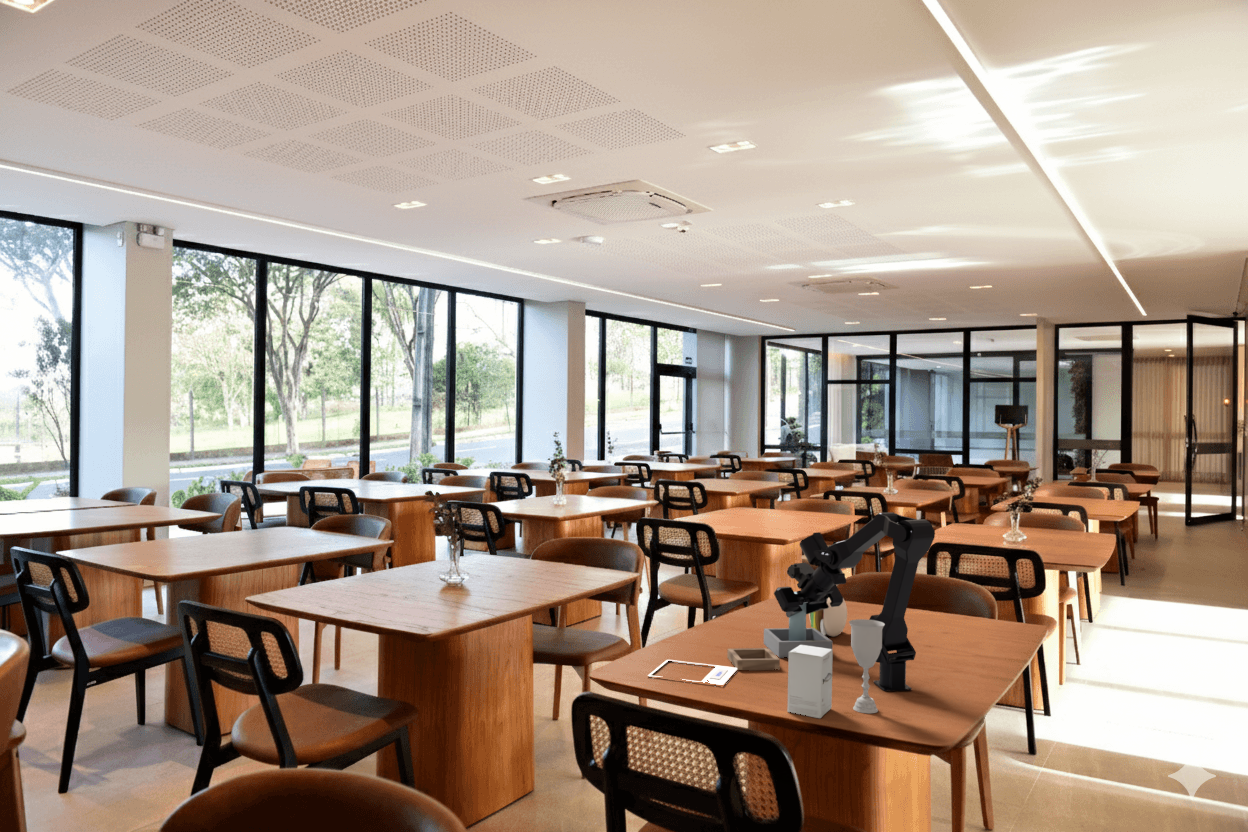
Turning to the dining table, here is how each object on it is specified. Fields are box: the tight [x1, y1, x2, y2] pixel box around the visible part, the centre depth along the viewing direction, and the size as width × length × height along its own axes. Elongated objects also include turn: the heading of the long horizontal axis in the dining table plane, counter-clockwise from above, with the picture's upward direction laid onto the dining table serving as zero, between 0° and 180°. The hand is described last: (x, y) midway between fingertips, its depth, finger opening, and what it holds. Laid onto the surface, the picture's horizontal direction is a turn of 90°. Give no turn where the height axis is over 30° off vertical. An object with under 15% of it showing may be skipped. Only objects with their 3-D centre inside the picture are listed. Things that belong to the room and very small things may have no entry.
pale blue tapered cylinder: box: [788, 591, 807, 641], centre depth 226 cm, size 4×4×12 cm
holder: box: [726, 647, 781, 671], centre depth 213 cm, size 10×10×2 cm
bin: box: [763, 627, 833, 659], centre depth 226 cm, size 14×14×4 cm
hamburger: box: [808, 597, 848, 638], centre depth 243 cm, size 12×8×12 cm
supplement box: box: [786, 645, 834, 719], centre depth 179 cm, size 7×7×13 cm
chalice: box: [848, 618, 885, 714], centre depth 181 cm, size 7×7×18 cm
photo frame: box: [647, 659, 738, 685], centre depth 204 cm, size 15×1×18 cm
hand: (794, 614), depth 228 cm, fingers closed on pale blue tapered cylinder, 4 cm apart
